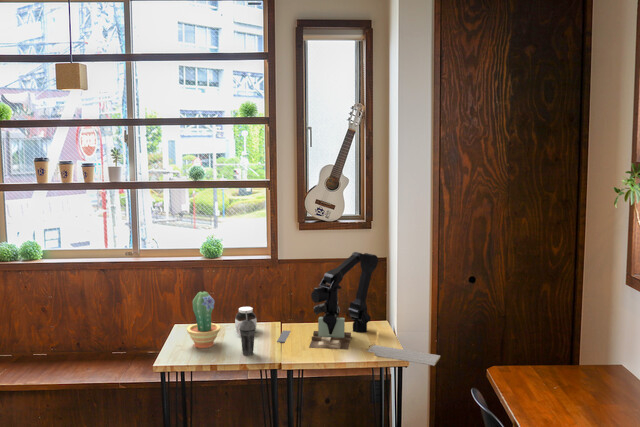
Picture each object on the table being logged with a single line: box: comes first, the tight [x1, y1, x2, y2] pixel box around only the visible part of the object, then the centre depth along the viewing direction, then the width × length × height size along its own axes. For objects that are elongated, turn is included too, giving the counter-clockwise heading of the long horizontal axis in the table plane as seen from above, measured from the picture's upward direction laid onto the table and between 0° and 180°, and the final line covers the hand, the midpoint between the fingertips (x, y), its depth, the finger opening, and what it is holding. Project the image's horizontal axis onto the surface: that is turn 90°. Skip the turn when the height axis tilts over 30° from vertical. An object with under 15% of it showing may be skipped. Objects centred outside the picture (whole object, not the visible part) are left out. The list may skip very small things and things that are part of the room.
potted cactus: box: [186, 291, 221, 349], centre depth 278 cm, size 15×15×25 cm
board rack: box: [308, 330, 352, 351], centre depth 281 cm, size 18×18×3 cm
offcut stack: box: [318, 337, 341, 348], centre depth 276 cm, size 10×4×4 cm, turn 83°
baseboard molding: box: [365, 343, 441, 367], centre depth 266 cm, size 31×3×12 cm
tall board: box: [317, 316, 346, 338], centre depth 285 cm, size 12×4×10 cm, turn 83°
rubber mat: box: [276, 330, 291, 344], centre depth 290 cm, size 14×16×1 cm
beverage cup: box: [239, 311, 257, 357], centre depth 267 cm, size 7×7×20 cm
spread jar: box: [234, 306, 258, 337], centre depth 296 cm, size 12×11×12 cm
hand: (331, 331), depth 285 cm, fingers open, 9 cm apart
